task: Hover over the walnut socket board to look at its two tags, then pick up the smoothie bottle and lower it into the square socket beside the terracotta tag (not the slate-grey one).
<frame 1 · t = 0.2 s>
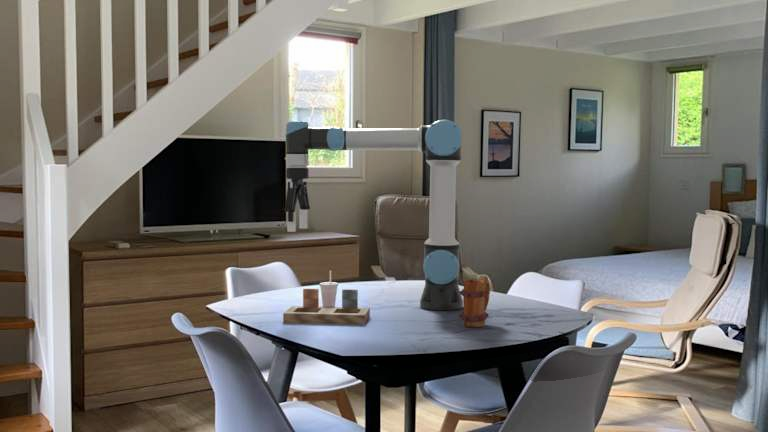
hand: (297, 230, 270), 28 cm above the table, fingers open, 13 cm apart
mug: (477, 325, 249), on the table
socket board: (327, 319, 257), on the table
smoothie: (328, 311, 271), on the table
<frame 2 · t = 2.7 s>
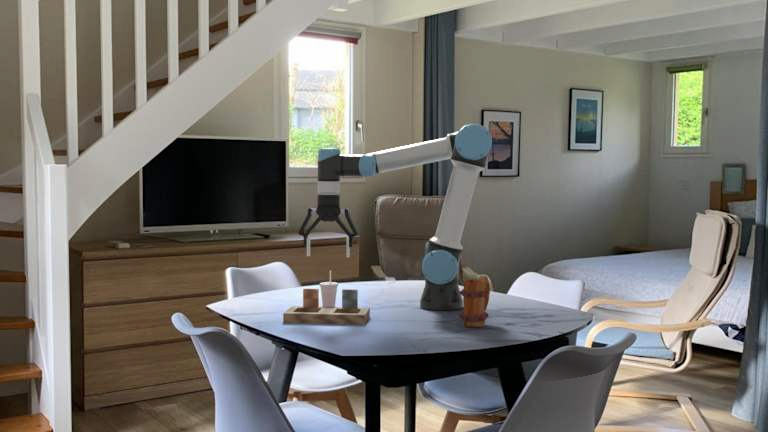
hand: (328, 256, 270), 19 cm above the table, fingers open, 13 cm apart
nothing on the table moved.
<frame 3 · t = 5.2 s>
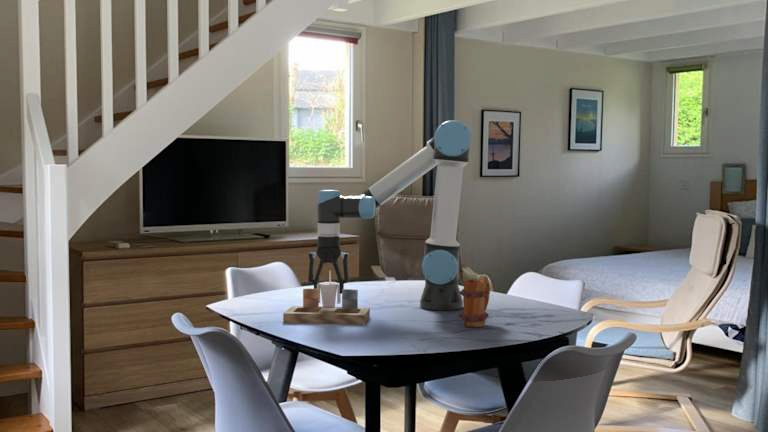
hand: (328, 302, 271), 3 cm above the table, fingers closed on smoothie, 6 cm apart
smoothie: (328, 311, 271), on the table, touching gripper
everything else where it was.
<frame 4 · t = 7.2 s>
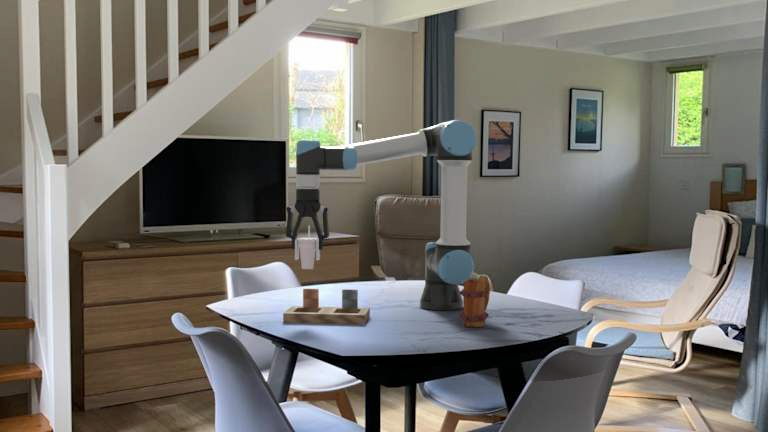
hand: (307, 259, 257), 19 cm above the table, fingers closed on smoothie, 6 cm apart
smoothie: (307, 269, 257), point 16 cm above the table, touching gripper
everything else where it was.
when the fingers open (5 cm above the table, at t = 9.6 s): smoothie drops 2 cm, resting in socket board.
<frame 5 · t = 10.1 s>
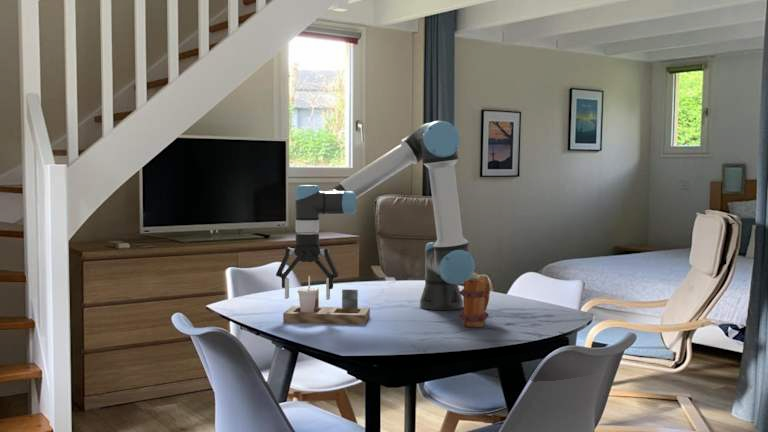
hand: (307, 298, 257), 7 cm above the table, fingers open, 13 cm apart
smoothie: (307, 319, 257), resting in socket board
everything else where it was.
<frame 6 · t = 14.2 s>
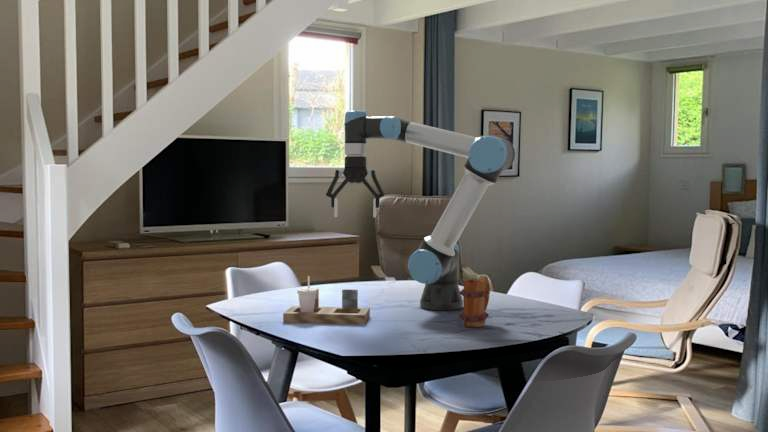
hand: (355, 217, 276), 32 cm above the table, fingers open, 13 cm apart
nothing on the table moved.
at the end: smoothie 0.1 cm from the target spot on the socket board, point 0.0 cm above the socket board's base; smoothie tilted 0°; the gripper is holding nothing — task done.
